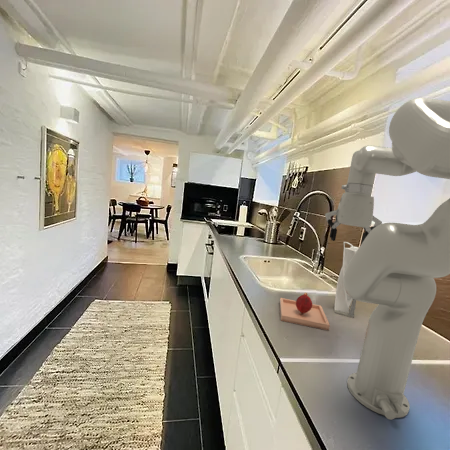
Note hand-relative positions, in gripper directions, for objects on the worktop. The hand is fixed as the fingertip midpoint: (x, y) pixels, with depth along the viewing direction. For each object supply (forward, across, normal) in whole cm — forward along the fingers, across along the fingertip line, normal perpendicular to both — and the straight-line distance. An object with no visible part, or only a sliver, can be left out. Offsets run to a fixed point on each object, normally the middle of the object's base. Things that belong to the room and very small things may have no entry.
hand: (348, 242), depth 88 cm
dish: (+30, -9, +6) cm, 32 cm away
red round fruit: (+30, -9, +6) cm, 32 cm away
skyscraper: (+31, +8, +18) cm, 36 cm away
